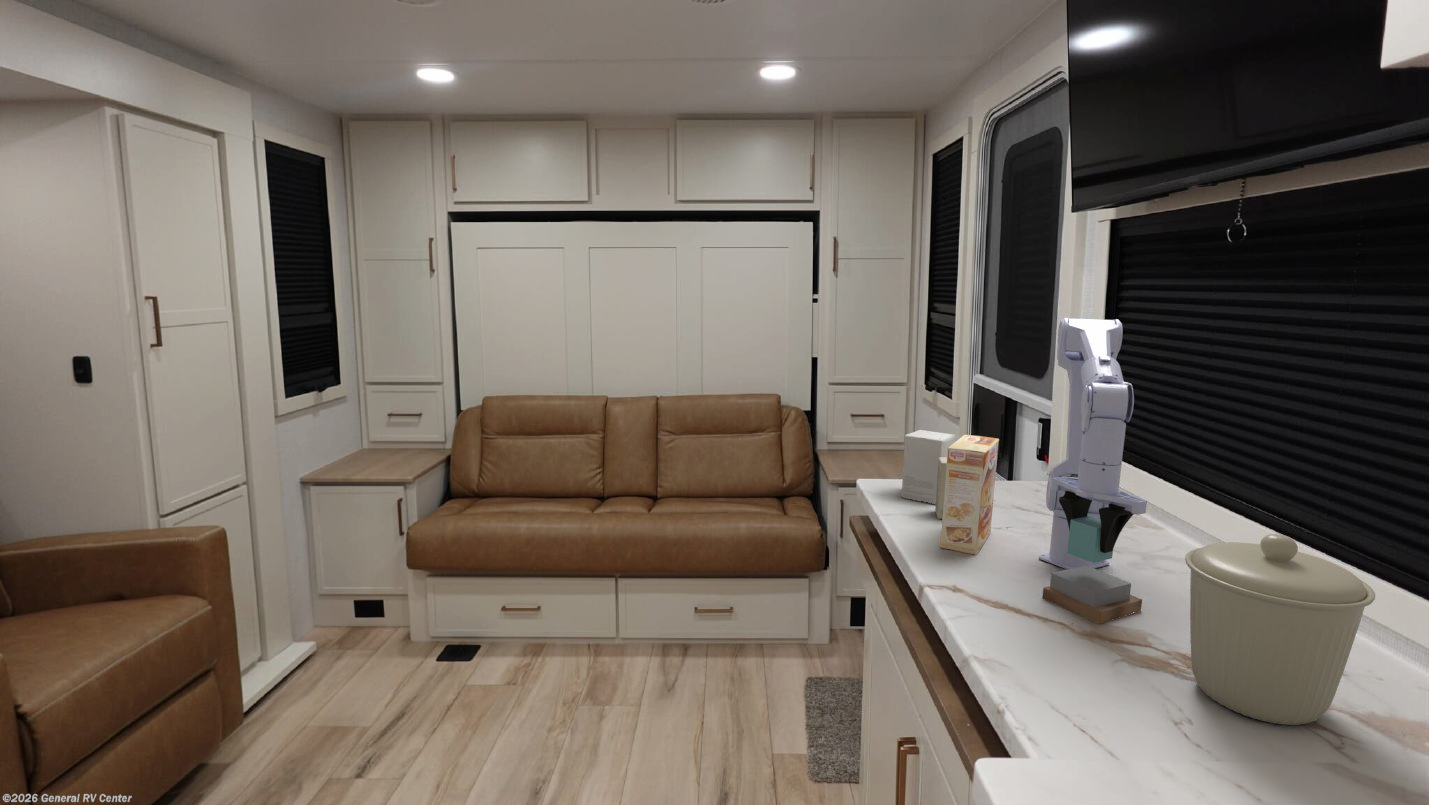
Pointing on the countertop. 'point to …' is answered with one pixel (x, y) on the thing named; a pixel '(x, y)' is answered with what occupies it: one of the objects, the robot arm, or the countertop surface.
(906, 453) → the supplement box
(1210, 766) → the countertop surface
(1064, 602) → the walnut slab
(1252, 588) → the canister
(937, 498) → the skincare box
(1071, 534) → the teal block
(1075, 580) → the gray square slab
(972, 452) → the coffeecake box
